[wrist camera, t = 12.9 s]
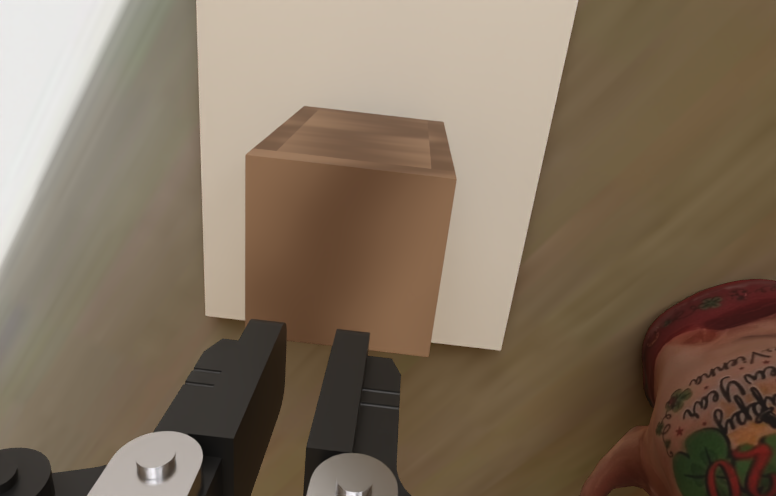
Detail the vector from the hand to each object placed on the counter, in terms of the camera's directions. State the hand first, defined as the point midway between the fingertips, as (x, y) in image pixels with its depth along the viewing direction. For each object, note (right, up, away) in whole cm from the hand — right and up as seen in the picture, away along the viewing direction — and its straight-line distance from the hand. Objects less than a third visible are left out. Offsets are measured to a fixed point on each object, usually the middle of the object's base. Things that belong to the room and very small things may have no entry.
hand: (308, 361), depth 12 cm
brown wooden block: (+1, +5, +13) cm, 14 cm away
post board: (+1, +7, +16) cm, 17 cm away
